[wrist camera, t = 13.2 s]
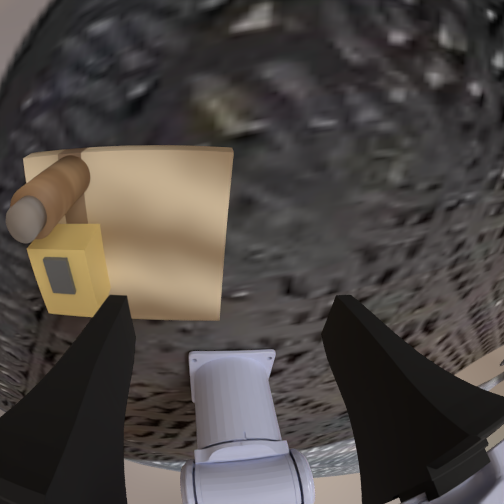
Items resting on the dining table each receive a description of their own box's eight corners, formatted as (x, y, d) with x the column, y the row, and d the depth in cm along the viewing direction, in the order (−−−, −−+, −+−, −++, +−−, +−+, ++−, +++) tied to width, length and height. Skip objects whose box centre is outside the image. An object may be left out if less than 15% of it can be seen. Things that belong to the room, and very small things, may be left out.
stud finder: (110, 287, 19) (100, 321, 16) (62, 285, 18) (47, 316, 15) (99, 223, 16) (82, 253, 14) (46, 224, 16) (24, 251, 13)
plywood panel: (218, 309, 23) (219, 320, 22) (65, 303, 21) (60, 313, 20) (231, 147, 16) (233, 152, 15) (32, 152, 14) (23, 158, 13)
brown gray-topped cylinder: (92, 196, 15) (50, 251, 10) (56, 197, 15) (8, 251, 10) (88, 153, 14) (38, 193, 9) (51, 157, 13) (-6, 198, 8)
